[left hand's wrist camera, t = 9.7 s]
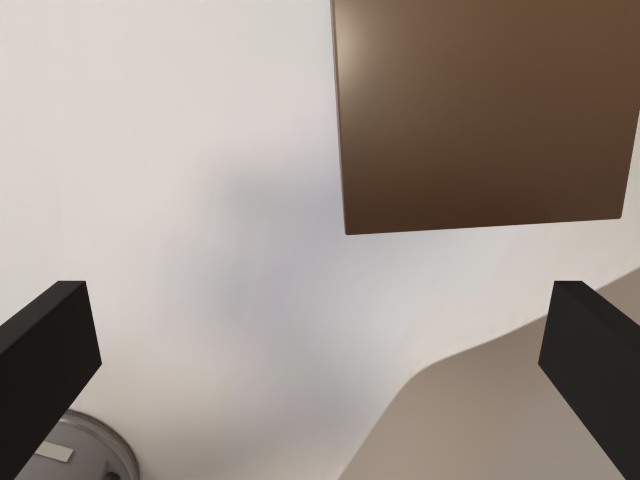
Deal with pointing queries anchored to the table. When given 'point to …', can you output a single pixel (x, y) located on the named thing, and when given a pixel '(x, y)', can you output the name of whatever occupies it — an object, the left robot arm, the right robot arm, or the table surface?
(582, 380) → the left robot arm
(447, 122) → the box
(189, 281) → the table surface
